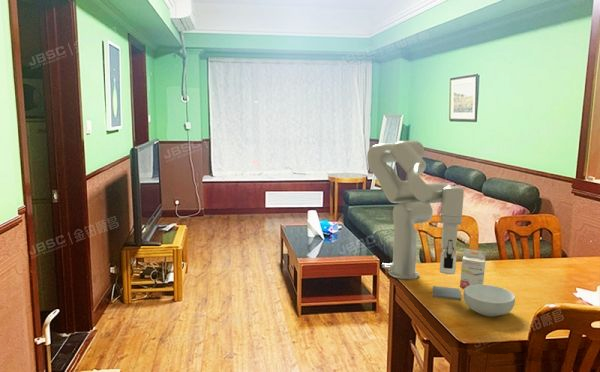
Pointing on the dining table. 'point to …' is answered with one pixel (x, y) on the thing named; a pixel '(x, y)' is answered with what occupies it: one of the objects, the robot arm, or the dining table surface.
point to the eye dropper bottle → (447, 270)
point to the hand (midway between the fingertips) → (447, 265)
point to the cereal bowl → (489, 299)
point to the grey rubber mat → (446, 293)
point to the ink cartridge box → (472, 268)
